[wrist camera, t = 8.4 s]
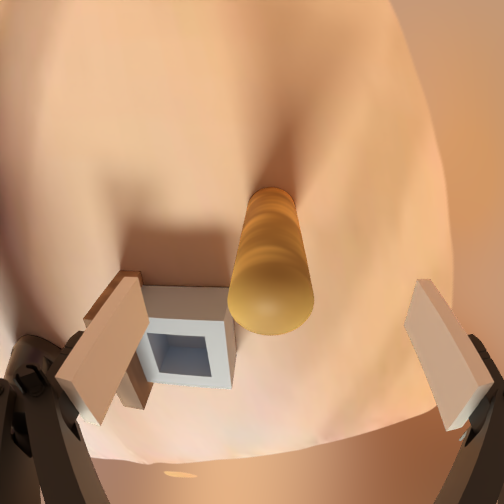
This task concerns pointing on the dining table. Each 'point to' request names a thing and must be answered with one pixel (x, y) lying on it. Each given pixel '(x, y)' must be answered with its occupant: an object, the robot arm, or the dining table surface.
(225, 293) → the block
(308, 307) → the golden brown tall cylinder
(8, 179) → the dining table surface
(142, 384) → the board
